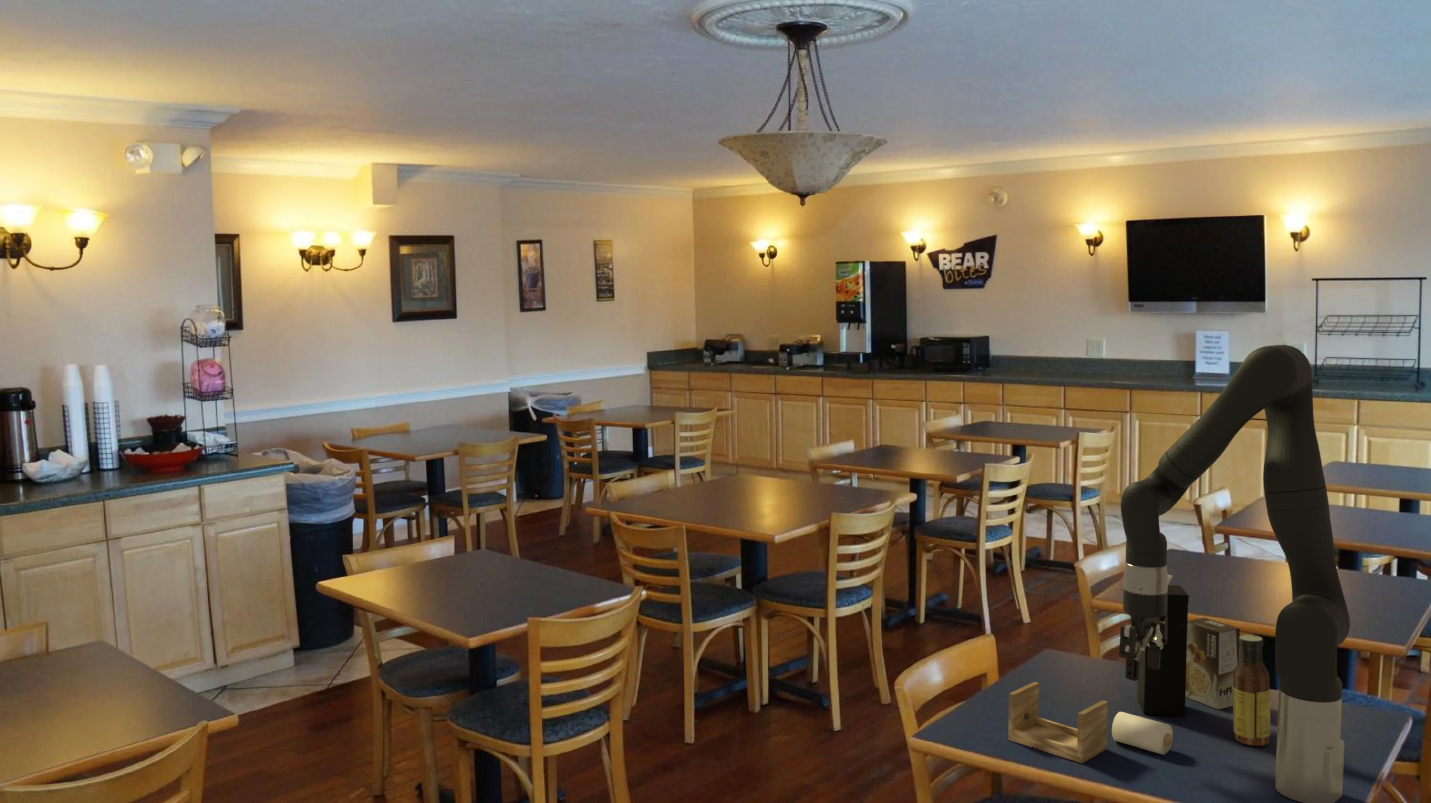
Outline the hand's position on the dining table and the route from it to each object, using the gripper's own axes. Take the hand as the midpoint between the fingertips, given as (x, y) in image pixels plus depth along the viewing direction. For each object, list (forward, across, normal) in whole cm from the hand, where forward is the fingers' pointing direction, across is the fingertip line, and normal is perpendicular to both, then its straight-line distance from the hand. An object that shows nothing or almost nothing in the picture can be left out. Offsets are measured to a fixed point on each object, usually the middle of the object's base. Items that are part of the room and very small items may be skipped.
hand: (1143, 673), depth 201 cm
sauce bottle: (+14, +17, -13) cm, 26 cm away
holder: (+14, -10, +12) cm, 21 cm away
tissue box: (+14, +21, +6) cm, 26 cm away
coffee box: (+14, +33, +1) cm, 36 cm away
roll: (+14, 0, 0) cm, 14 cm away
